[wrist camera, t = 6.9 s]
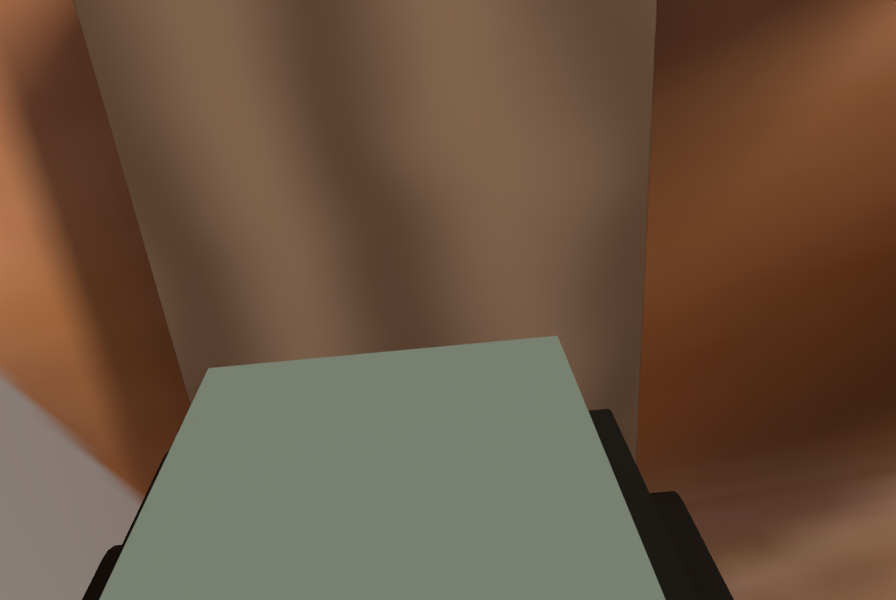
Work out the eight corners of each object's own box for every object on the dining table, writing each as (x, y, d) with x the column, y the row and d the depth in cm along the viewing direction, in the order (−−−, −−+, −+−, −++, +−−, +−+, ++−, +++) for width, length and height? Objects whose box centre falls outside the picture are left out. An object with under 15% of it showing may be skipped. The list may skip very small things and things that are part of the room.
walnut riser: (605, -103, 21) (662, -120, 16) (598, 404, 29) (634, 486, 24) (129, -61, 21) (54, -66, 16) (253, 439, 28) (226, 529, 24)
